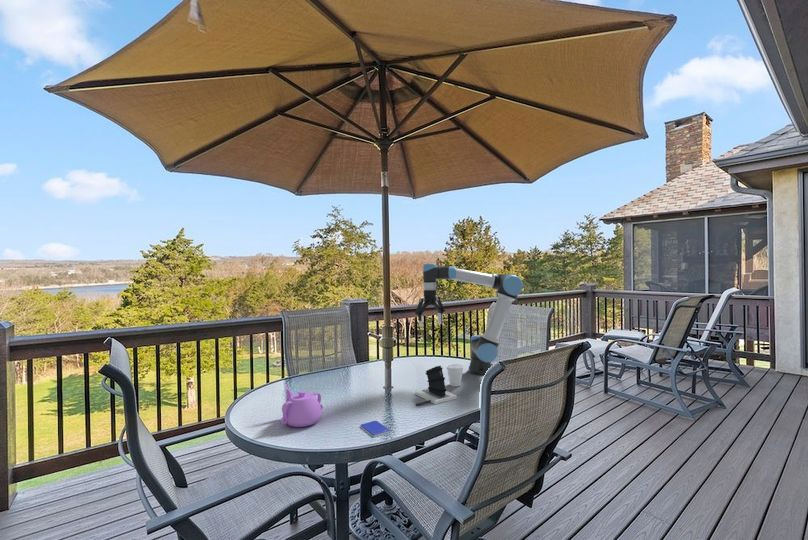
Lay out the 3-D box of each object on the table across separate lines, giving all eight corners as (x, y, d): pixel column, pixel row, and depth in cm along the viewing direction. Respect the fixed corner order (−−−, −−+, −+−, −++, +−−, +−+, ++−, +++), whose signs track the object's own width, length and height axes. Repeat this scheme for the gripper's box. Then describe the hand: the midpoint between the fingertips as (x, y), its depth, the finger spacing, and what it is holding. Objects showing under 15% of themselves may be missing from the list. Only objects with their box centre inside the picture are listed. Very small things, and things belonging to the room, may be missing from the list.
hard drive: (390, 429, 165) (376, 420, 176) (373, 434, 161) (360, 424, 171) (391, 433, 165) (376, 423, 176) (373, 438, 161) (360, 428, 171)
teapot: (305, 407, 195) (304, 380, 194) (334, 418, 181) (333, 388, 181) (264, 422, 178) (263, 392, 177) (293, 435, 164) (292, 402, 164)
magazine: (444, 395, 198) (436, 366, 203) (430, 400, 208) (423, 371, 213) (450, 394, 200) (441, 365, 205) (436, 398, 210) (428, 370, 215)
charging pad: (435, 389, 219) (435, 386, 219) (457, 398, 203) (456, 395, 203) (400, 397, 206) (400, 394, 206) (420, 408, 191) (420, 405, 191)
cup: (463, 382, 229) (463, 363, 229) (464, 388, 219) (464, 368, 219) (446, 382, 230) (446, 363, 230) (446, 387, 220) (446, 368, 220)
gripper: (442, 287, 244) (443, 322, 244) (408, 290, 230) (409, 326, 231) (450, 288, 237) (450, 323, 238) (416, 291, 224) (416, 328, 225)
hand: (430, 325), depth 234 cm, fingers open, 13 cm apart
